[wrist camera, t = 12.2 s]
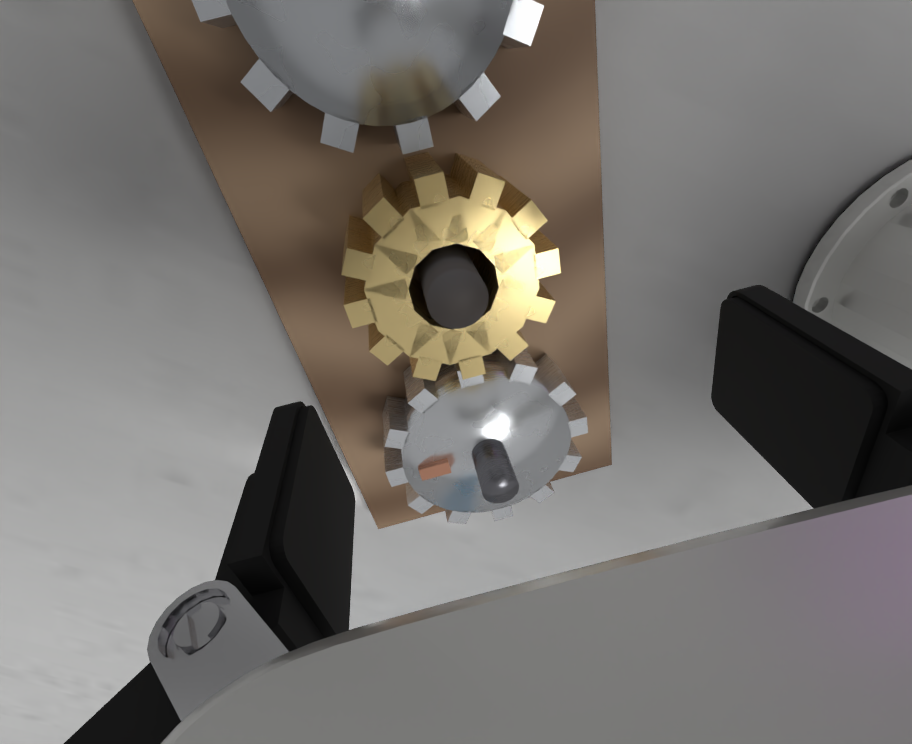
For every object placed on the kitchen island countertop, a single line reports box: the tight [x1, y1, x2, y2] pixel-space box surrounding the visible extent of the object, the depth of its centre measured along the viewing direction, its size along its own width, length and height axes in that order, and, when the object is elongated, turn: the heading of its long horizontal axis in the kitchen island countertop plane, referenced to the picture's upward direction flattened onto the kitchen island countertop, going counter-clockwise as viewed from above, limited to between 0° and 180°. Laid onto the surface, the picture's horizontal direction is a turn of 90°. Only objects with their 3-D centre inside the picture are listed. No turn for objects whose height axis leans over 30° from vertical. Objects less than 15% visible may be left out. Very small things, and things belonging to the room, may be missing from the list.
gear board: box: [133, 0, 612, 529], centre depth 18 cm, size 30×14×6 cm, turn 12°
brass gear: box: [341, 152, 561, 381], centre depth 18 cm, size 7×7×4 cm
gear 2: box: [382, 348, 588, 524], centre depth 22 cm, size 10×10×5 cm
